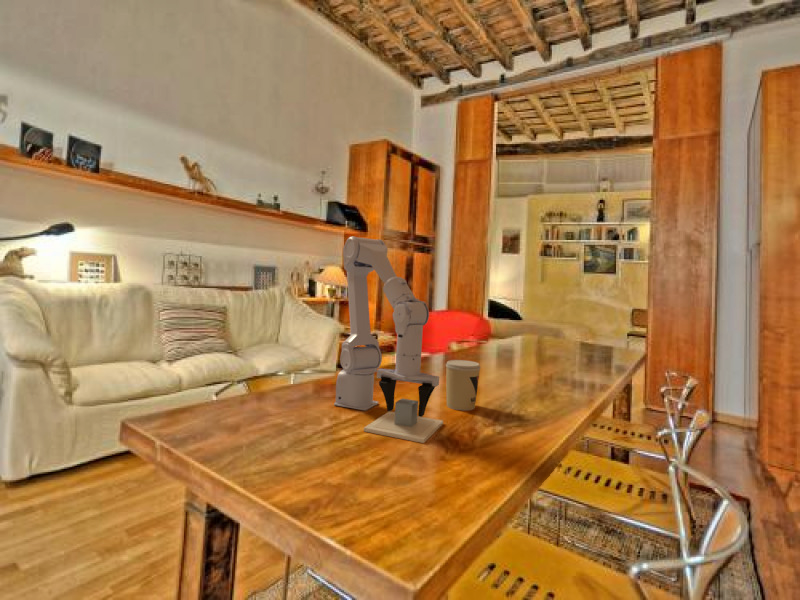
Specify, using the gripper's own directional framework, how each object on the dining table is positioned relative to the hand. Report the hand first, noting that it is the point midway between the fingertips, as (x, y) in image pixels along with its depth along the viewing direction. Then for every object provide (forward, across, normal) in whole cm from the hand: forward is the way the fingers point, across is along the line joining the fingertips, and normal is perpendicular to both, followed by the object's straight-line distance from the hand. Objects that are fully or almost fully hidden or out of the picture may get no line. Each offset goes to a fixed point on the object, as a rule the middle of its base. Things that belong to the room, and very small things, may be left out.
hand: (405, 412), depth 101 cm
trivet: (+3, 0, 0) cm, 3 cm away
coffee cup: (+4, +7, +24) cm, 25 cm away
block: (+2, 0, 0) cm, 3 cm away
